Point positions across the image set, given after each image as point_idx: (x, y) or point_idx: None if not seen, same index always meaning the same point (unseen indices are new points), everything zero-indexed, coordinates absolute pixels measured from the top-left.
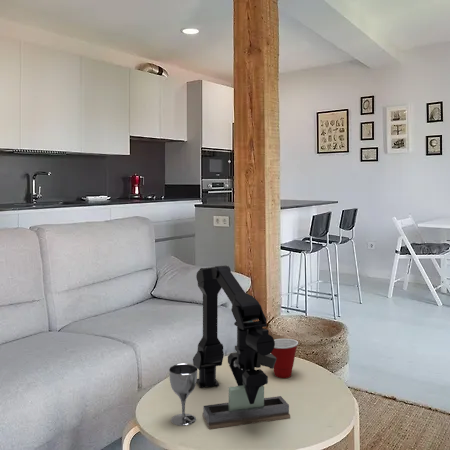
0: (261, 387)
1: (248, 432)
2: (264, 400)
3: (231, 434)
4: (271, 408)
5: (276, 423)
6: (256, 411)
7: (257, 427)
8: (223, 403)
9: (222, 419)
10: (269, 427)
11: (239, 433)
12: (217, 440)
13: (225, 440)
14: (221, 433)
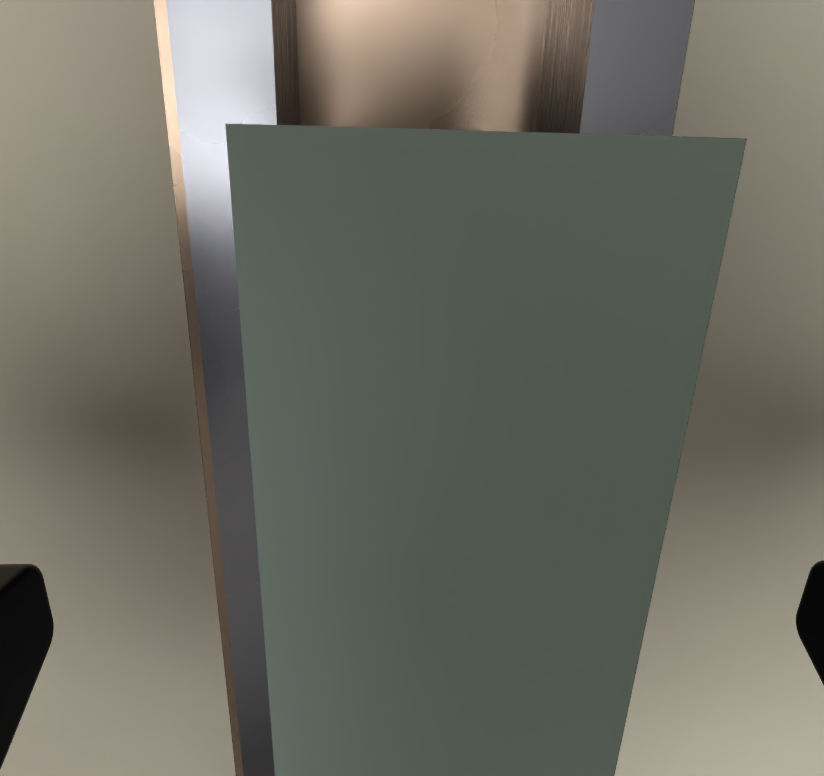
0: (696, 304)
1: (779, 484)
2: (272, 6)
3: (725, 648)
4: (682, 1)
5: (763, 9)
6: None
7: (728, 344)
8: (248, 757)
9: None
10: (812, 181)
11: (748, 575)
12: (759, 770)
13: (797, 716)
14: (660, 720)
